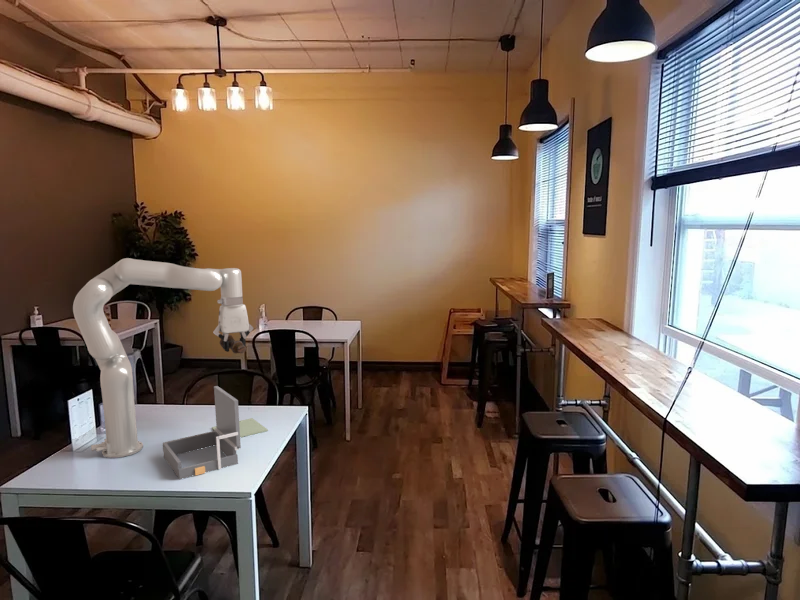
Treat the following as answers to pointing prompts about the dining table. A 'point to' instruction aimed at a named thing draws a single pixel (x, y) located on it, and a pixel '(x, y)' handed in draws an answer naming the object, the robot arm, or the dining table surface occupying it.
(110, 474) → the dining table surface
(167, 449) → the case
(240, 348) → the bolt
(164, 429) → the dining table surface
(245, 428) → the mat
